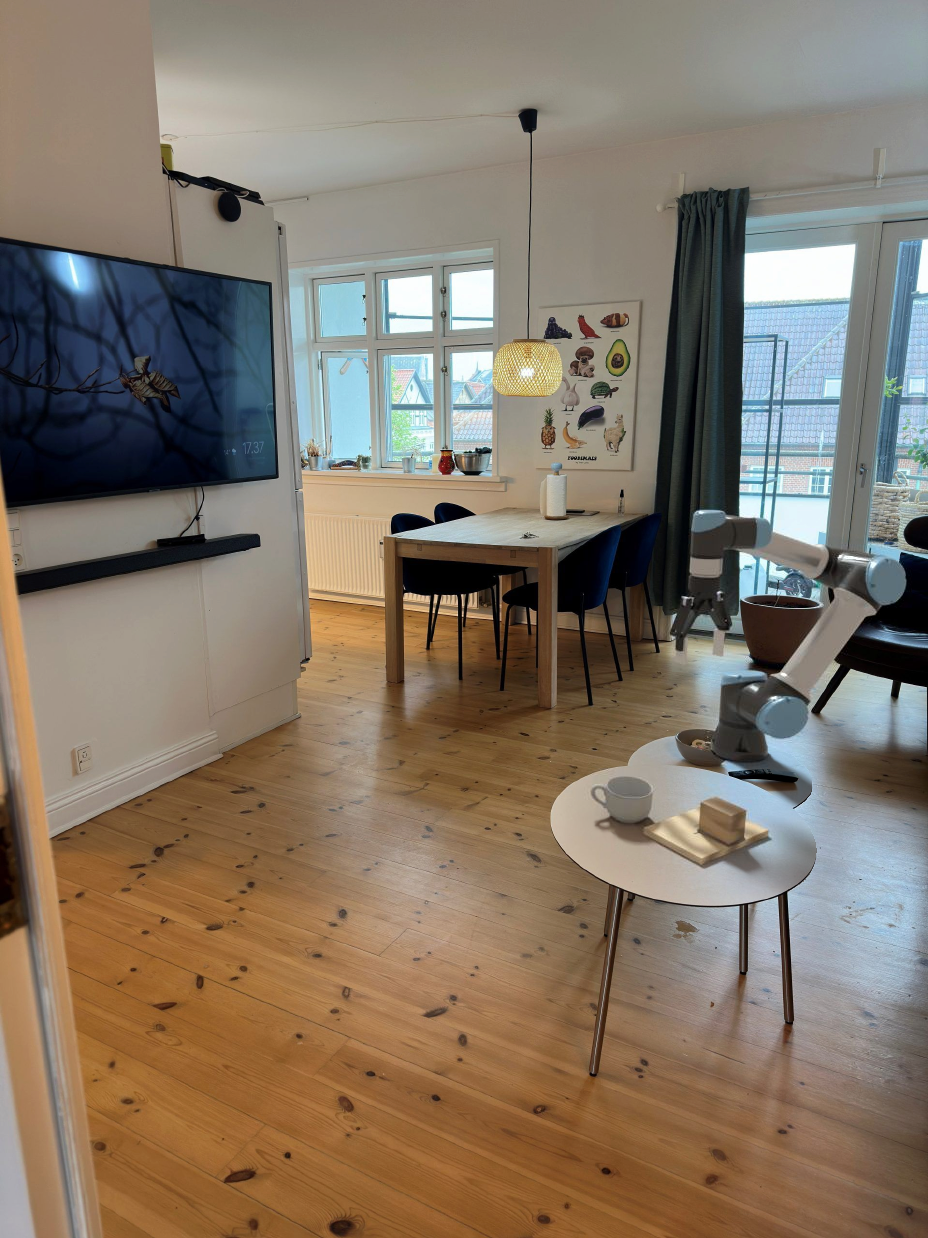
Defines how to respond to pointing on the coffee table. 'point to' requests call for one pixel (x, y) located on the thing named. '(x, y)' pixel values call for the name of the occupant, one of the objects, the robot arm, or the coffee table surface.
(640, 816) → the teacup
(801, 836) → the coffee table surface
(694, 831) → the pine board
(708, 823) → the brown wooden block
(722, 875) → the coffee table surface
